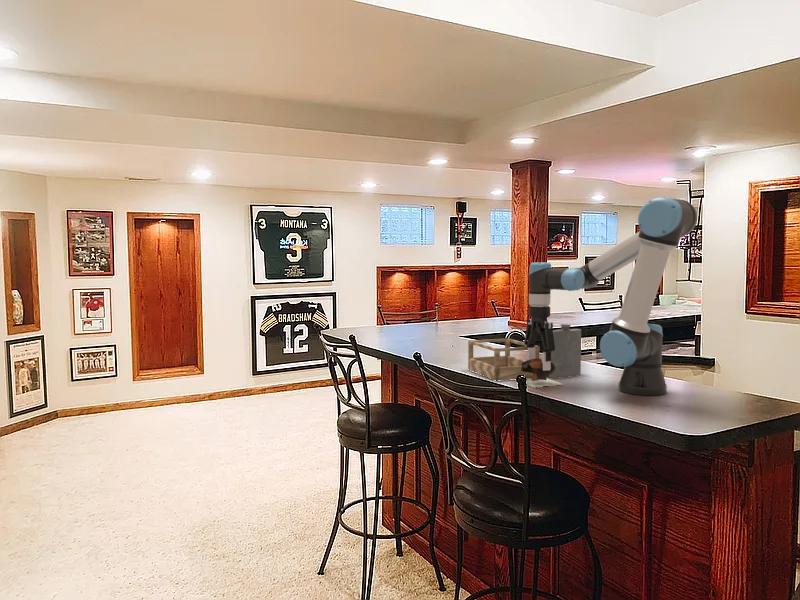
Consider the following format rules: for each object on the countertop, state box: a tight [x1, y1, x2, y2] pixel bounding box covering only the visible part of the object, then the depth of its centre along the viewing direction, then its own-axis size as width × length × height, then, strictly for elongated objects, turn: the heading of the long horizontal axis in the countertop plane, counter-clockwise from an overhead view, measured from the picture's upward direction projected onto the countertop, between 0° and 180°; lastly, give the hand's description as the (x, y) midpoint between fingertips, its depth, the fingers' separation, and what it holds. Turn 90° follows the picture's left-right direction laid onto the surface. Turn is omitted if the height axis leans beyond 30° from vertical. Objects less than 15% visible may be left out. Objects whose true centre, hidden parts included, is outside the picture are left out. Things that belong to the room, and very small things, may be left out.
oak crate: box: [467, 337, 540, 382], centre depth 239 cm, size 24×18×12 cm
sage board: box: [526, 378, 564, 389], centre depth 222 cm, size 12×12×1 cm
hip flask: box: [548, 323, 582, 379], centre depth 234 cm, size 16×4×20 cm, turn 118°
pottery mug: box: [521, 358, 555, 381], centre depth 221 cm, size 12×10×8 cm
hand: (538, 367), depth 222 cm, fingers closed on pottery mug, 9 cm apart
